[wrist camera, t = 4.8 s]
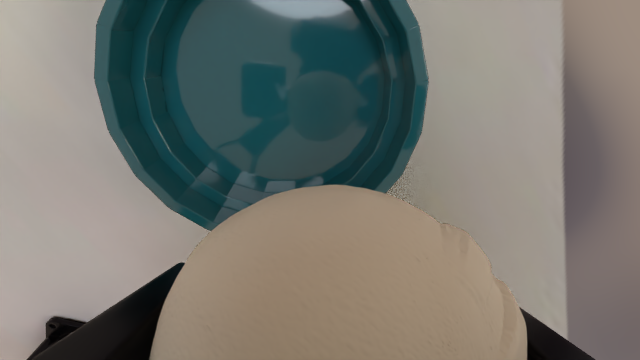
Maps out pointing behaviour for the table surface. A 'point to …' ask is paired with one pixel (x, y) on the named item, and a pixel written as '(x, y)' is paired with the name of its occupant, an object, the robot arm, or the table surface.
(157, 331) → the beige round lump
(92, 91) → the table surface
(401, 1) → the bowl
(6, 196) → the table surface
